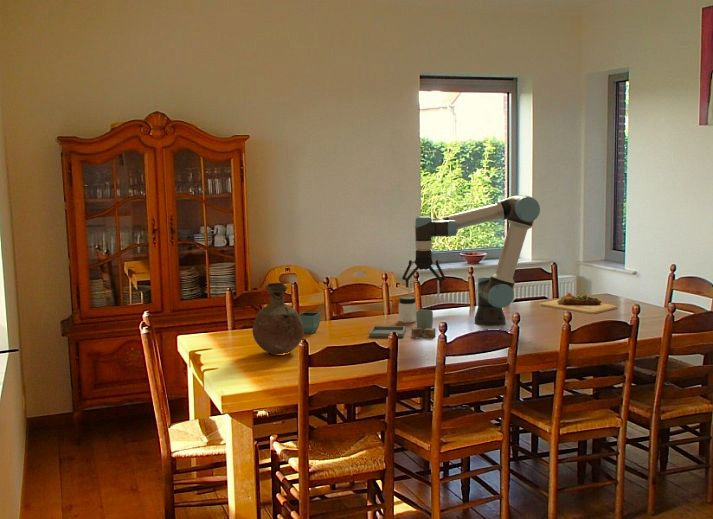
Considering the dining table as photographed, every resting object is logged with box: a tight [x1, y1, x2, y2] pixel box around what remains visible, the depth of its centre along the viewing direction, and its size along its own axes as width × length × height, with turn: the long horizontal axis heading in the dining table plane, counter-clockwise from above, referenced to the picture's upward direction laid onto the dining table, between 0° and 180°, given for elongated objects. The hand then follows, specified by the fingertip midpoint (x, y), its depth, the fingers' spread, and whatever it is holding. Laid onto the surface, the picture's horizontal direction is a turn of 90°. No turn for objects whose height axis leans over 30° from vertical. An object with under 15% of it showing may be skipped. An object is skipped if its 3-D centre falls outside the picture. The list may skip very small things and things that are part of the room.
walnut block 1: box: [411, 326, 423, 339], centre depth 353 cm, size 4×4×4 cm
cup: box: [415, 309, 434, 334], centre depth 362 cm, size 8×8×10 cm
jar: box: [398, 295, 417, 323], centre depth 388 cm, size 9×8×12 cm
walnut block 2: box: [423, 327, 436, 339], centre depth 351 cm, size 4×4×4 cm
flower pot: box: [298, 311, 321, 334], centre depth 367 cm, size 9×9×9 cm
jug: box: [251, 282, 304, 355], centre depth 326 cm, size 22×22×30 cm
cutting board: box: [539, 292, 618, 315], centre depth 415 cm, size 35×23×8 cm
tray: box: [368, 325, 407, 339], centre depth 360 cm, size 16×16×2 cm
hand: (423, 294), depth 360 cm, fingers open, 13 cm apart
